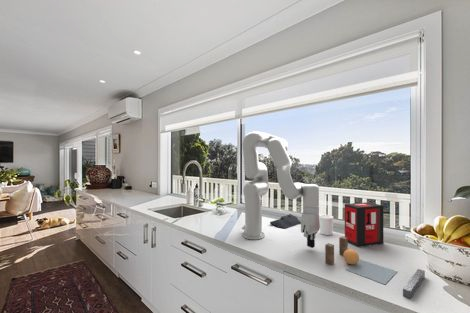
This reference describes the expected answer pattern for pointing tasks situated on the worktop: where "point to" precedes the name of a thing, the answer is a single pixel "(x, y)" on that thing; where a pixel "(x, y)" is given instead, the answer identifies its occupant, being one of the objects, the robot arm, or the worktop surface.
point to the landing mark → (372, 271)
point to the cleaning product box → (364, 224)
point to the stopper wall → (413, 284)
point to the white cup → (326, 224)
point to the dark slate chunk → (286, 222)
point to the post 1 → (329, 254)
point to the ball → (351, 256)
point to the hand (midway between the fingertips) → (310, 246)
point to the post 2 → (343, 245)
